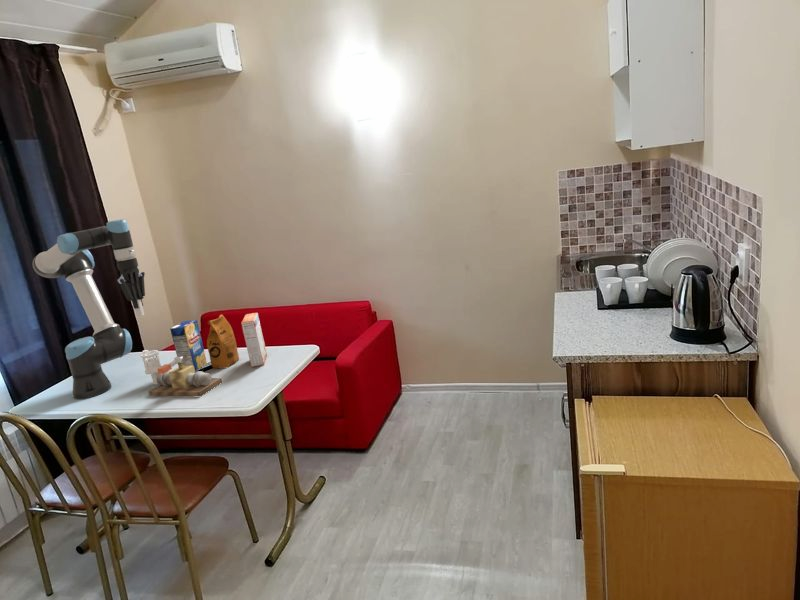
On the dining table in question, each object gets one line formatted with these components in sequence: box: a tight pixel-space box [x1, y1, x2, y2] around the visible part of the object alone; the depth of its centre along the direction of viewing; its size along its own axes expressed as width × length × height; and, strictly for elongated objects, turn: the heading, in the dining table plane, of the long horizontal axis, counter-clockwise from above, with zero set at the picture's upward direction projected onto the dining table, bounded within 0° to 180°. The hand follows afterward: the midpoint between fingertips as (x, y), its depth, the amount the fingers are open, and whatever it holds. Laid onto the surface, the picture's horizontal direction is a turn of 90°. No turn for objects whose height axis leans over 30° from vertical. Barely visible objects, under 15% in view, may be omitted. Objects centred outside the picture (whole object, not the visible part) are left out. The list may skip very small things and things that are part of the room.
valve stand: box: [148, 362, 223, 397], centre depth 243 cm, size 26×14×12 cm, turn 69°
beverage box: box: [169, 319, 208, 373], centre depth 264 cm, size 7×11×22 cm, turn 170°
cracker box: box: [240, 312, 268, 368], centre depth 264 cm, size 14×6×21 cm, turn 6°
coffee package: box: [206, 314, 240, 369], centre depth 268 cm, size 10×12×22 cm
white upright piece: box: [140, 349, 162, 385], centre depth 256 cm, size 7×7×15 cm
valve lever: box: [157, 356, 184, 374], centre depth 236 cm, size 14×3×2 cm, turn 168°
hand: (140, 315), depth 242 cm, fingers closed
